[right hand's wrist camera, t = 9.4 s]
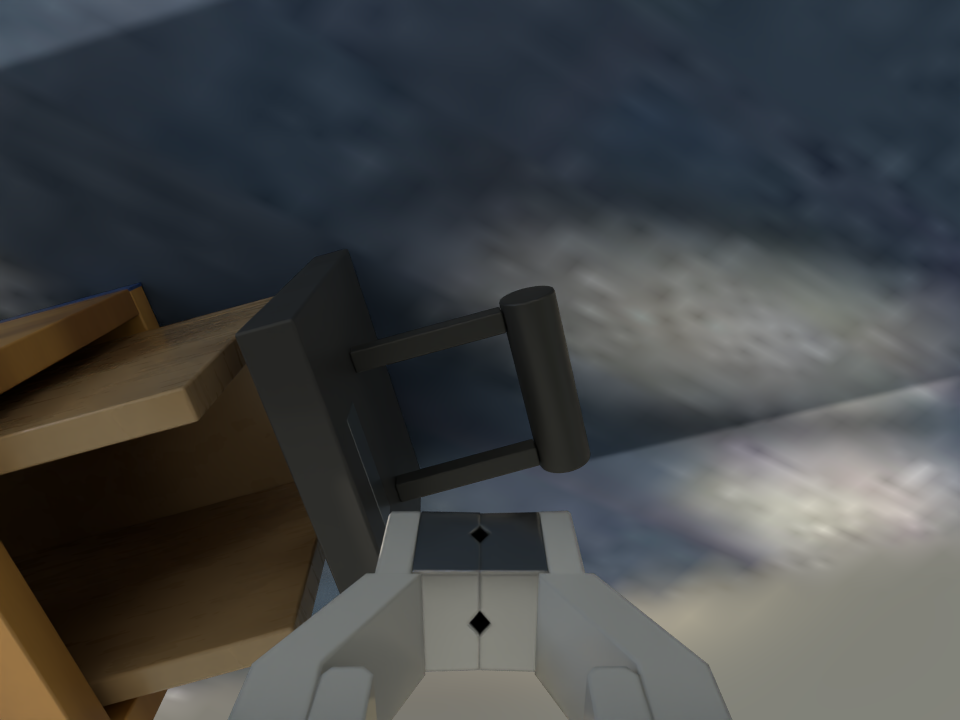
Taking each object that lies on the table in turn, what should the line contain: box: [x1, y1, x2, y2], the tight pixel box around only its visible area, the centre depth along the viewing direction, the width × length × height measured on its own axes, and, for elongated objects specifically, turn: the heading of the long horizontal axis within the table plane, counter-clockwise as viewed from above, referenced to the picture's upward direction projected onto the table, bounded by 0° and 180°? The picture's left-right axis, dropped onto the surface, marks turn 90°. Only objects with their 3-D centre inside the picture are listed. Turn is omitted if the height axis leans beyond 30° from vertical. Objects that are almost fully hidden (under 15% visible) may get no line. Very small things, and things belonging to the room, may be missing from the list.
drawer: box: [0, 249, 590, 706], centre depth 18 cm, size 22×9×9 cm, turn 104°
